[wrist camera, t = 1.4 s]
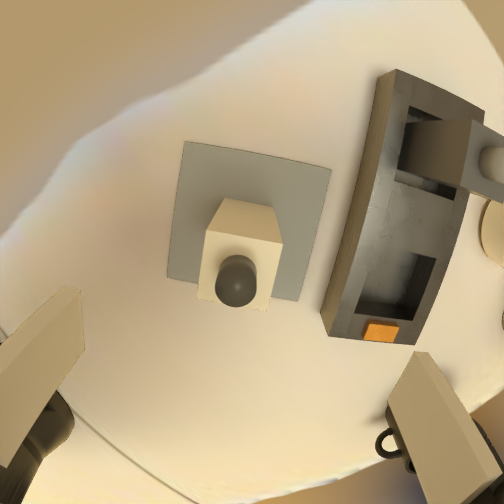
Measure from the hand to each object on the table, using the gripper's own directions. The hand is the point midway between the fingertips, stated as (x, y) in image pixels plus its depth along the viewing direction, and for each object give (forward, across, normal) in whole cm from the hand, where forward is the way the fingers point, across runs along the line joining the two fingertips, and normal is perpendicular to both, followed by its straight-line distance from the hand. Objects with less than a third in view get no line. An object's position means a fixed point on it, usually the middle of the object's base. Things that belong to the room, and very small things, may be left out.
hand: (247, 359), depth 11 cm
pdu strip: (+17, +12, +5) cm, 21 cm away
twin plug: (+16, +12, +10) cm, 22 cm away
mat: (+17, -1, +1) cm, 17 cm away
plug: (+16, -1, +1) cm, 17 cm away
